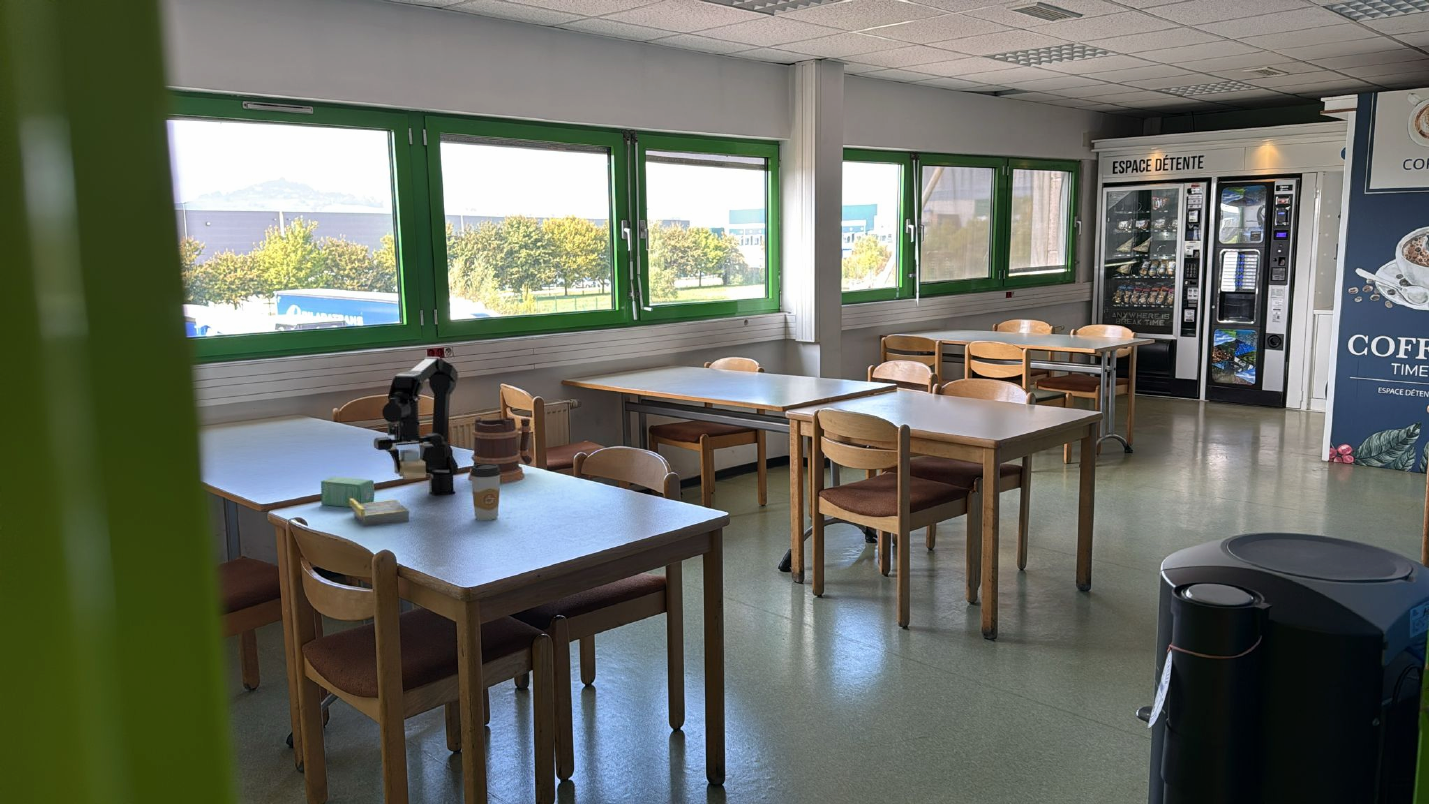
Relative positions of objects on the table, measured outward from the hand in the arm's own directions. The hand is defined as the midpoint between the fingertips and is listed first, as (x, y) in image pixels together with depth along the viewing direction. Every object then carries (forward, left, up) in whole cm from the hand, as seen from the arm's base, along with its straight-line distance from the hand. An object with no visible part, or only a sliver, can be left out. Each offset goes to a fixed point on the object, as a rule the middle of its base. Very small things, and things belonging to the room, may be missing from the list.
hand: (409, 470), depth 303 cm
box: (+14, -16, -12) cm, 25 cm away
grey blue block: (0, 0, +3) cm, 3 cm away
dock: (+10, +5, -12) cm, 16 cm away
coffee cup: (-16, +19, -12) cm, 27 cm away
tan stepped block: (0, 0, -1) cm, 1 cm away
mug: (-38, -30, -12) cm, 50 cm away
